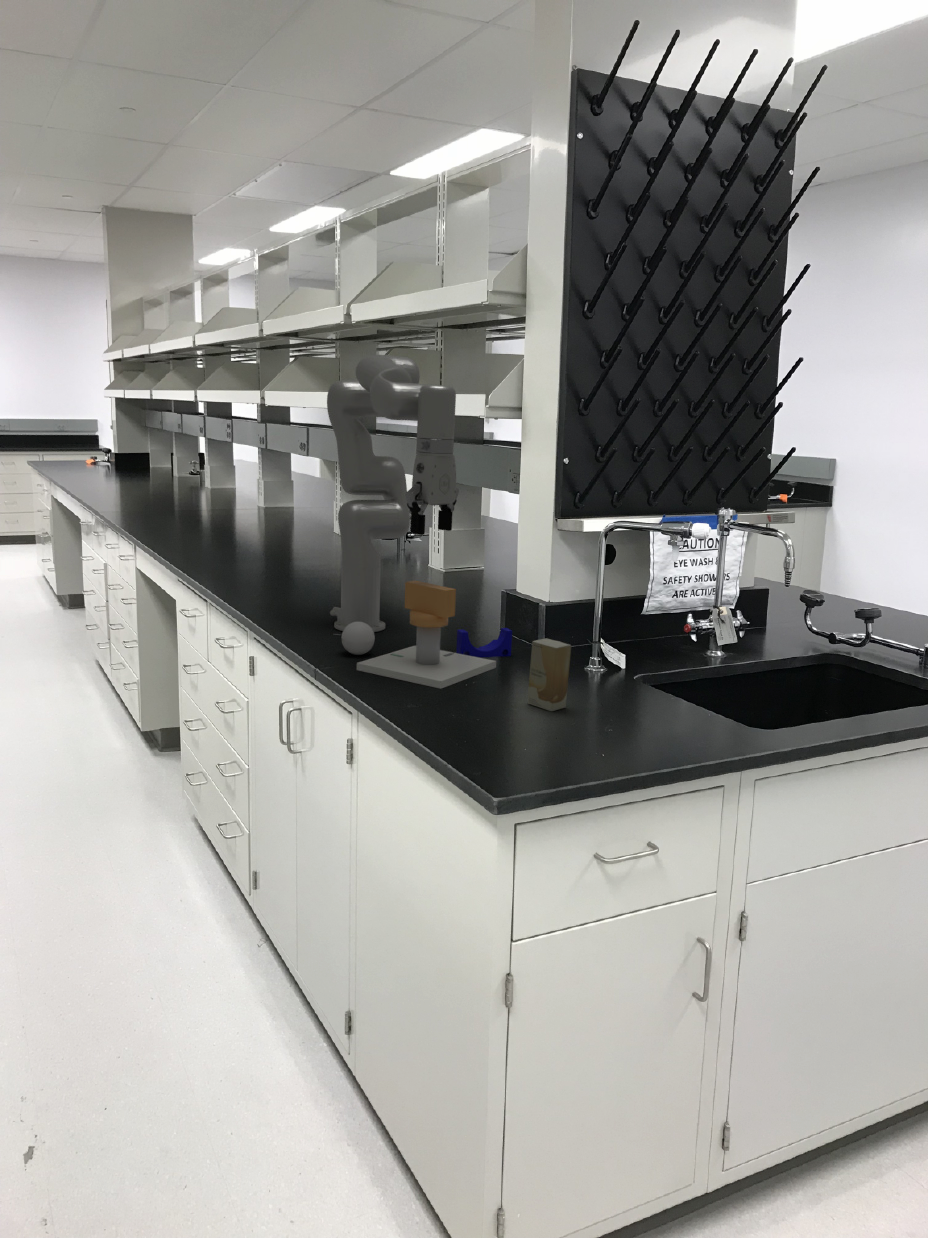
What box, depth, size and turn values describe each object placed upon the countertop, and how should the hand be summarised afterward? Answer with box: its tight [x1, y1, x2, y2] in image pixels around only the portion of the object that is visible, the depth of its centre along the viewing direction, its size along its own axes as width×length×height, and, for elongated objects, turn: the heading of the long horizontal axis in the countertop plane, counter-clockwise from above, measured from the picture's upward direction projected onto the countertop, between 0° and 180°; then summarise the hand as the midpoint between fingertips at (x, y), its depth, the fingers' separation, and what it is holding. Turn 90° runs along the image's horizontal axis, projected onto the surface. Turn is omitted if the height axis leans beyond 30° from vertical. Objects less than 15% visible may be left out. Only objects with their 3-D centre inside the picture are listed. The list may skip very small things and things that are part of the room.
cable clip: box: [455, 627, 513, 658], centre depth 210 cm, size 12×4×6 cm, turn 110°
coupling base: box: [356, 626, 497, 689], centre depth 196 cm, size 21×21×10 cm
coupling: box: [404, 580, 457, 628], centre depth 194 cm, size 12×8×8 cm, turn 45°
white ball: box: [334, 622, 376, 656], centre depth 206 cm, size 10×7×7 cm
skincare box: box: [527, 637, 572, 712], centre depth 173 cm, size 6×4×12 cm
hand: (431, 531), depth 193 cm, fingers open, 9 cm apart
